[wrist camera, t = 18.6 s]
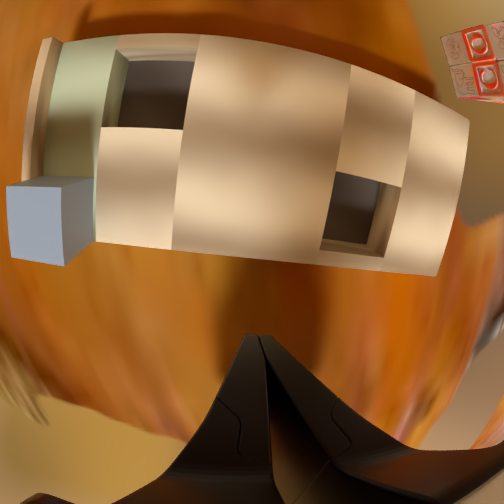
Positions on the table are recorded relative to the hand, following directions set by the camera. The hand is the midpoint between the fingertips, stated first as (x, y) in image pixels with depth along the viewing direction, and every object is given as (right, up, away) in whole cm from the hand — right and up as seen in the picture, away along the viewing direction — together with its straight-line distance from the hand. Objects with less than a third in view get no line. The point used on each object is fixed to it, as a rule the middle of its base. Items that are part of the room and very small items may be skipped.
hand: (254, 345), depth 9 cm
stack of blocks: (+27, +22, +8) cm, 36 cm away
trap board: (+1, +10, +9) cm, 13 cm away
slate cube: (-12, +6, +6) cm, 14 cm away
